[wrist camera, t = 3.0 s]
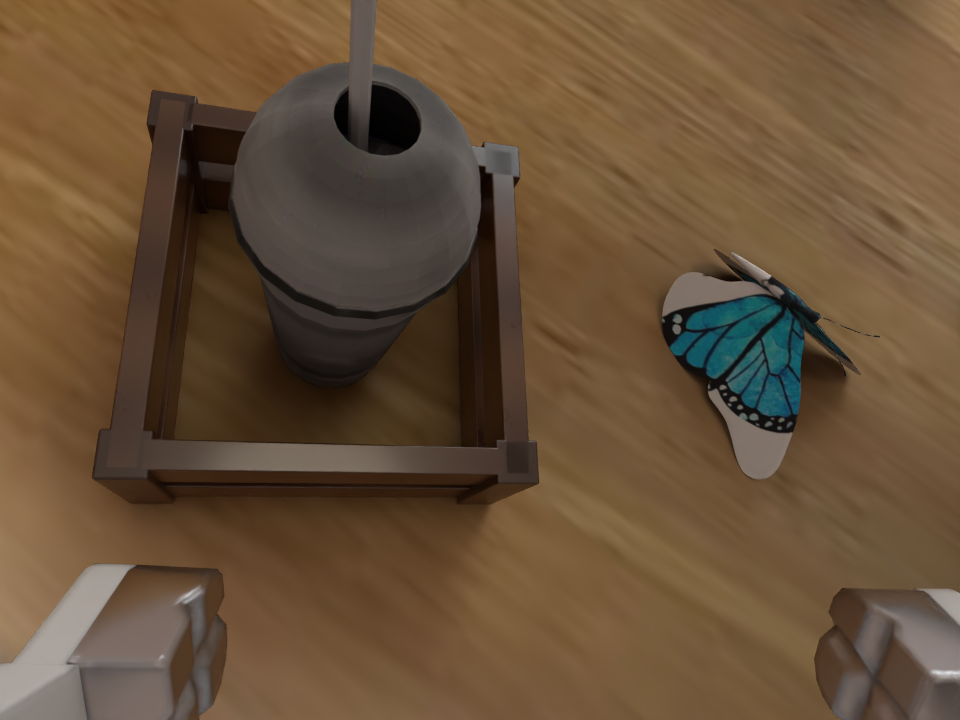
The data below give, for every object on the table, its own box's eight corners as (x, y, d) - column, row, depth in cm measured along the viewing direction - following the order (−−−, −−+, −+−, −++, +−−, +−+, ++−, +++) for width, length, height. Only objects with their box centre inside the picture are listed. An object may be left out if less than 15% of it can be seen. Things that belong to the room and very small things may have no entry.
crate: (173, 179, 30) (151, 88, 25) (480, 217, 34) (518, 146, 29) (129, 503, 26) (90, 479, 20) (491, 504, 30) (539, 483, 24)
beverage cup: (324, 452, 28) (411, 201, 10) (208, 330, 29) (92, -125, 11) (441, 347, 31) (668, 12, 13) (335, 238, 32) (415, -236, 14)
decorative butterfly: (769, 188, 35) (937, 310, 32) (718, 265, 41) (857, 375, 38) (651, 283, 31) (831, 433, 28) (612, 354, 37) (759, 486, 34)
